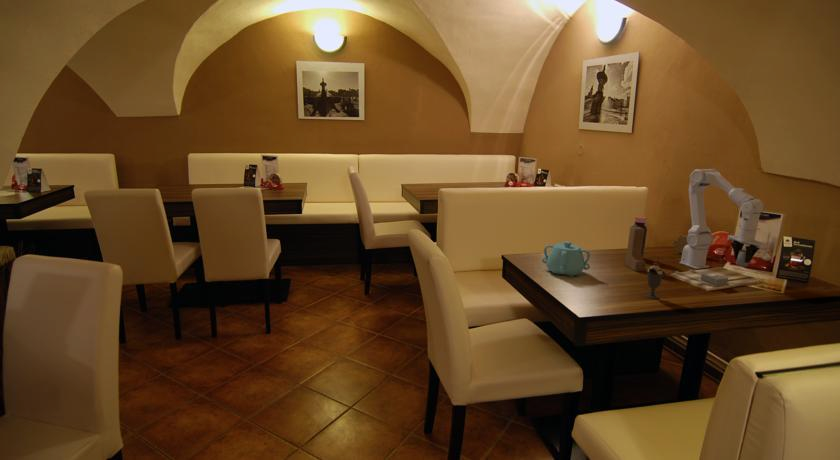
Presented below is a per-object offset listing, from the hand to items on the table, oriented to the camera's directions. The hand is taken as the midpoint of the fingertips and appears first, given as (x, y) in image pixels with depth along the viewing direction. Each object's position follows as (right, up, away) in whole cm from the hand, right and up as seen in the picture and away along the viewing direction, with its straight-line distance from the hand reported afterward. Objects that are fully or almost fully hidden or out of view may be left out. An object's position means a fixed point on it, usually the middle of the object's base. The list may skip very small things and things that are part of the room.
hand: (742, 260), depth 200 cm
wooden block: (-38, -4, +16) cm, 41 cm away
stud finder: (-15, -9, -5) cm, 18 cm away
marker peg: (0, -2, +1) cm, 2 cm away
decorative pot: (-71, -6, +8) cm, 72 cm away
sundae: (-46, -13, -18) cm, 51 cm away
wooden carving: (-1, 0, +38) cm, 37 cm away
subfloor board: (-9, -8, +3) cm, 13 cm away
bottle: (-31, -1, +31) cm, 43 cm away
